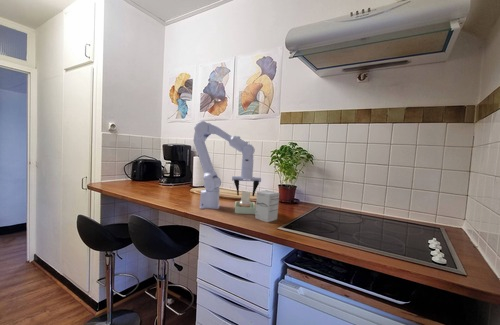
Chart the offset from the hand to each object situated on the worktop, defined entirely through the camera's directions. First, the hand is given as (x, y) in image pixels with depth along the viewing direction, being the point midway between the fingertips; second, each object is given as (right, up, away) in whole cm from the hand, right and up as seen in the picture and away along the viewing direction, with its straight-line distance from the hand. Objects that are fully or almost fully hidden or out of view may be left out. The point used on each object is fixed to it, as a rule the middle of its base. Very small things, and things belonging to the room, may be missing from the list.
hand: (245, 195), depth 117 cm
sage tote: (0, -8, -1) cm, 8 cm away
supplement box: (+9, -9, -13) cm, 18 cm away
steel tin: (0, -7, 0) cm, 7 cm away
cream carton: (0, -3, 0) cm, 3 cm away
